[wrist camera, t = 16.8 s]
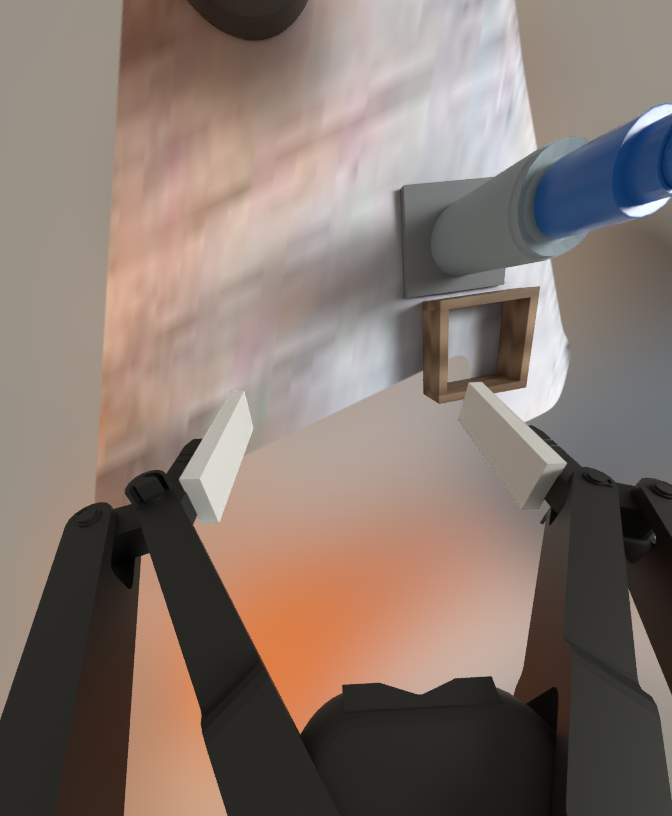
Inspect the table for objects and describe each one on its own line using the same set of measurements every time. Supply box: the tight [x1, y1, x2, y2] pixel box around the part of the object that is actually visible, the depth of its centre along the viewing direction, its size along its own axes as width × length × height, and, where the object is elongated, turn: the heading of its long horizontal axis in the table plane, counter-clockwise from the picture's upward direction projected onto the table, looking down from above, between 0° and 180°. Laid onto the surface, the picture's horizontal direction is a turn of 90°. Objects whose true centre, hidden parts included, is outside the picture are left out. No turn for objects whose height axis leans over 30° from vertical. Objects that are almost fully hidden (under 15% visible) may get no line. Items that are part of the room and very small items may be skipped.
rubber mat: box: [401, 177, 505, 298], centre depth 37 cm, size 13×15×1 cm
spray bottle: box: [431, 103, 672, 276], centre depth 25 cm, size 9×9×25 cm
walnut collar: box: [423, 286, 540, 404], centre depth 40 cm, size 14×14×5 cm
